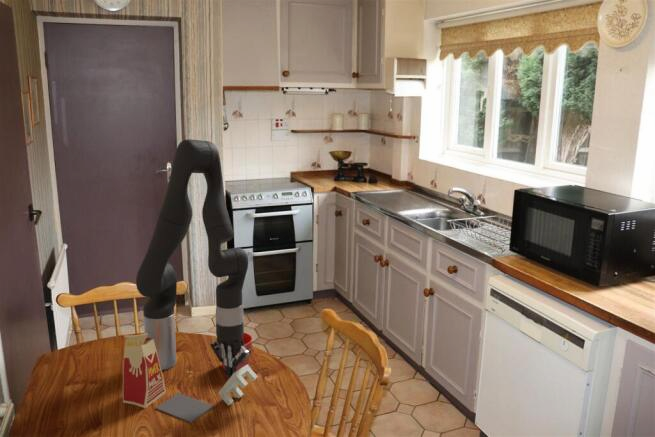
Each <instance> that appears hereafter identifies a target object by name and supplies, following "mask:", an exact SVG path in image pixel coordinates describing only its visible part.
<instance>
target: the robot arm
mask: <svg viewBox="0 0 655 437" xmlns="http://www.w3.org/2000/svg"><path fill="white" fill-rule="evenodd" d="M220 157H221V156H220V152H219V149H218V147H217V146H216V144H215V143H213V142H212V141H209V140H202V139H201V140H199V139H189V138H188V139H187V138H186V139H183V140H181V141H180V143H179V144H178V145H177V147H176V150H175V152H174V157H173V161H172V166H171V170H170V176H169V181H168V185H167V188H166V192H165V195H164V199H163V202H162V205H161V207H160V211H159V214H158V217H157V220H156V222H155V226H154V230H153V232H152V237H151V240H150V242H149V245H148V248H147V250H146V254H145V255H144V258H143V260H142V262H141V265H140V267H139V269H138V271H137V273H136V277H135V284H136V285H135V286H136V290H137V291H138V293H139V294H140V295H141V296H143V297H145V298H148V300H147V302H145V304H144V305H143V310H142V312H143V326H144V328H143V329H144V334H146V333H148V335H147V338H153V339H154V343H155V347H156V350H157V354H158V358H159V362H160V366H161V370H162V371H165V370H169V369H172V368H174V366H176V364H177V344H176V343H177V341H176V324H175V323H176V322H175V320H176V319H175V306H176V305H177V296H178V294H177V292H178V291H177V289H178V287H177V286H178V283H177V274H176V271H175V269H174V267H173V266H172V264H170V263H169V260H170V259H171V257H172V256H173V255H174V253H175V252H176V250H177V249H178V247H180V245H181V244H182V243H183V240H184V239H185V237H186V236H187V233H188V231H189V229H190V226H191V222H192V219H193V208H192V204H191V201H190V197H189V194H188V186H189V181H190V178H191V176H192V174H203V176H204V179H205V181H206V193H205V194H206V195H205V197H204V201H203V205H202V210H201V214H202V215H201V216H202V221H203V225H204V229H205V231H206V232H205V233H206V235H207V246H208V247H207V248H208V250H207V251H208V255H207V256H208V257H207V266H208V269H209V272H210V273H211V274H212V276H214V277H216V278H222V277H223V278H224V277H228V276H229V277H228V278H227V279H225V280H224V281H222V282H220V283H218V284H217V285H216V287H215V303H216V307H215V332H216V333H215V336H216V337H217V338H216V340H214V341H212V343H210V347H211V350H212V351H213V352H214V354H215V356H216V357H217V358H216V359H218V361H219V363H222V362H223V363H224V365H225V370H224V371H225V372H224V373H225V376H226V378H227V379H230V377H231V376H232V375H233V373H235V372H236V367H237V366H238V365H240V364H242V363H243V362H244V360H245V359H246V358H247V357H248V356H249V354H250V355H251V353H252V350H251V351H250V350H249V349H248V350H247V349H246V348H245V347H244V342H243V335H244V333H245V332H244V330H245V326H244V325H245V323H244V319H245V318H244V317H245V316H244V307H243V288H244V284H245V280H246V275H247V272H248V268H249V256H248V254H247V252H246V251H245V250H244V249H243V248H241V247H233V248H227V249H222V247H221V246H222V244H225V243H228V242H229V241H231V240H232V239H233V238H234V236H235V234H234V228H233V225H232V223H231V220H230V219H231V218H230V215H229V212H228V209H227V208H228V207H227V202H226V197H225V189H224V180H223V179H224V178H223V172H222V164H221V158H220ZM240 350H241V352H240ZM239 352H240V357H239V358H238V356H239ZM220 353H221V354H222V356H221V354H220Z"/></svg>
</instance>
